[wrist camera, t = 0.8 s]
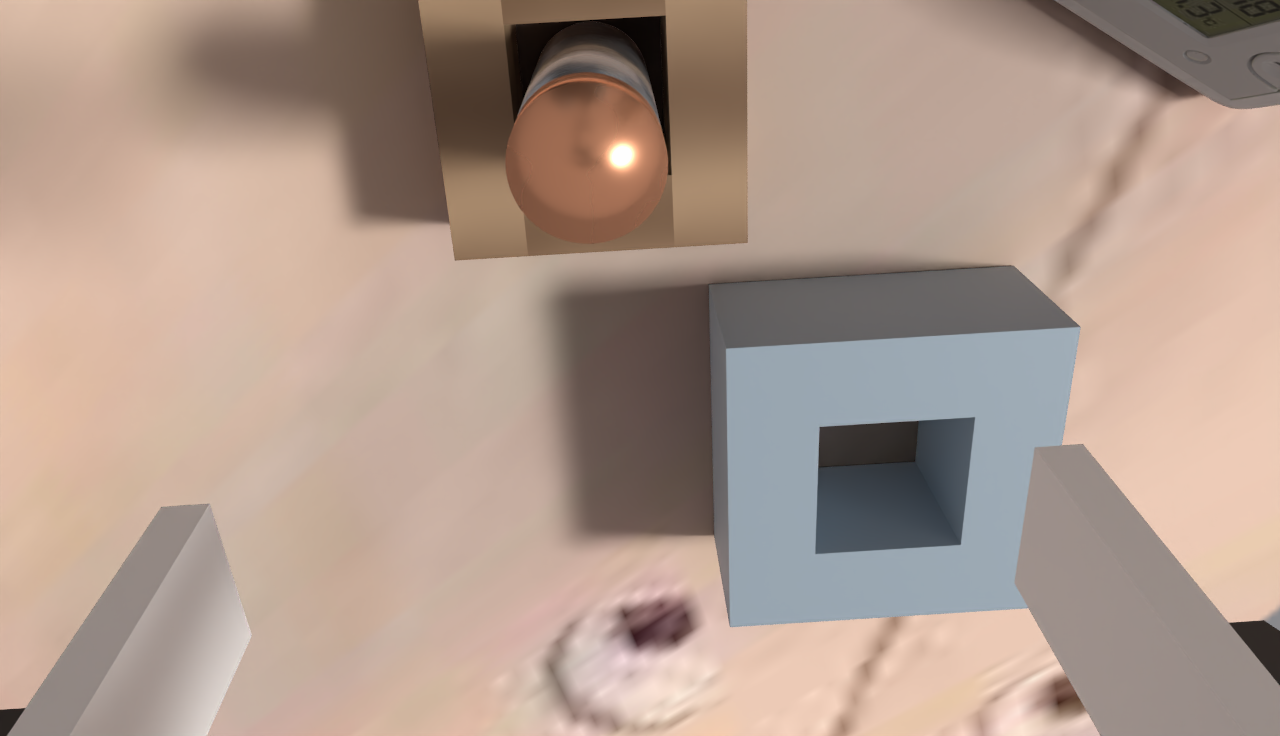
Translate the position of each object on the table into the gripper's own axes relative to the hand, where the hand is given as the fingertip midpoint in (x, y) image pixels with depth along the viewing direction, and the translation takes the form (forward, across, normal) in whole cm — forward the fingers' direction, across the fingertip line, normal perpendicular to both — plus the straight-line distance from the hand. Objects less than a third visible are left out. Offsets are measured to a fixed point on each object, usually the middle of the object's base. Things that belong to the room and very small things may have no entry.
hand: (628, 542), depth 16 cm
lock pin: (+23, -1, +3) cm, 23 cm away
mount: (+23, -1, +3) cm, 23 cm away
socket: (+22, +9, -11) cm, 27 cm away
